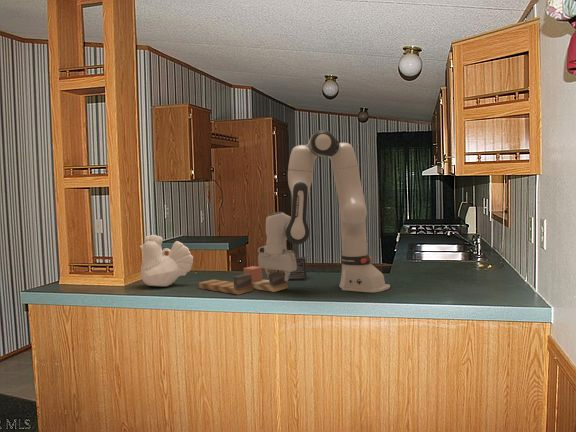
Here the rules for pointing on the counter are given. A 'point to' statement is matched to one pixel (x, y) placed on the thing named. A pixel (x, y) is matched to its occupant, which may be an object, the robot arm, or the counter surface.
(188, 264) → the decorative rooster
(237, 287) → the oak strip
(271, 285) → the birch strip
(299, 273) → the small box
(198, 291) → the counter surface
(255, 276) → the brick block
